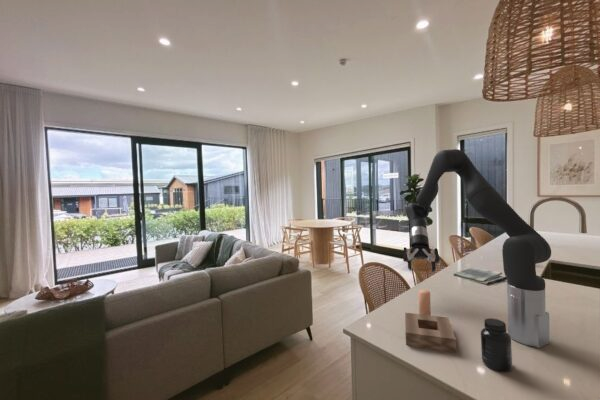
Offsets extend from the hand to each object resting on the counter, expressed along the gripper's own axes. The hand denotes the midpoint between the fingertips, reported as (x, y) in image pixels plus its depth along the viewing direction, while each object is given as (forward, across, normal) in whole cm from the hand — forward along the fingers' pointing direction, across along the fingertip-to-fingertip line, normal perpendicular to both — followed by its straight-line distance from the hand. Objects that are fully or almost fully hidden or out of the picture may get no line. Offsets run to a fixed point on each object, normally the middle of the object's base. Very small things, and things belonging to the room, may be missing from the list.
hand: (421, 270), depth 111 cm
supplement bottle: (+35, +16, -14) cm, 41 cm away
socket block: (+28, 0, -7) cm, 29 cm away
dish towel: (-19, +30, +41) cm, 55 cm away
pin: (+19, 0, +2) cm, 19 cm away
